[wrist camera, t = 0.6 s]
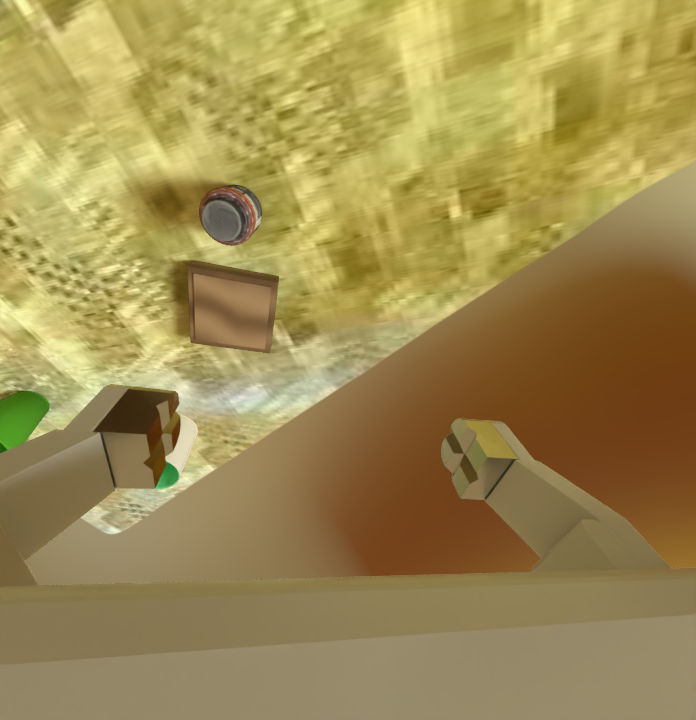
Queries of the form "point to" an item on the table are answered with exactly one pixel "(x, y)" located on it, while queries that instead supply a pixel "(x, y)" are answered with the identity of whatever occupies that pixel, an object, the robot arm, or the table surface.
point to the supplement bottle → (230, 214)
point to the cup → (20, 417)
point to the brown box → (231, 307)
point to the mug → (178, 454)
